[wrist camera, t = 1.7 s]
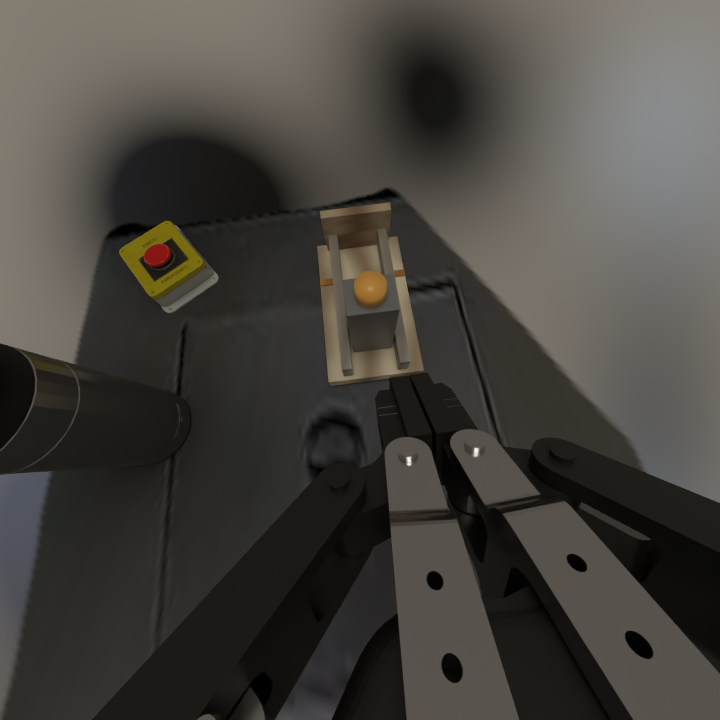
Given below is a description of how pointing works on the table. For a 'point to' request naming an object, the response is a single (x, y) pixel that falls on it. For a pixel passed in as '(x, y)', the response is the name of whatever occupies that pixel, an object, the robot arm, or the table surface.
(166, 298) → the emergency button
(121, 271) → the table surface
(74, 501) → the table surface
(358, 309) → the orange-capped grey pillar
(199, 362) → the table surface
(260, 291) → the table surface
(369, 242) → the track
